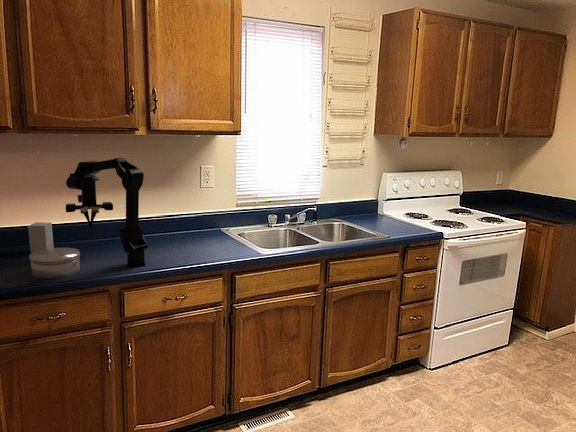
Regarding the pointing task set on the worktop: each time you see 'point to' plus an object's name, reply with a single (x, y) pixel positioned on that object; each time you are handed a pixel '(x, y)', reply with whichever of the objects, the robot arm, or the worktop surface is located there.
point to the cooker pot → (55, 269)
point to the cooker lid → (54, 255)
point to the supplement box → (40, 236)
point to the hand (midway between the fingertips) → (90, 226)
